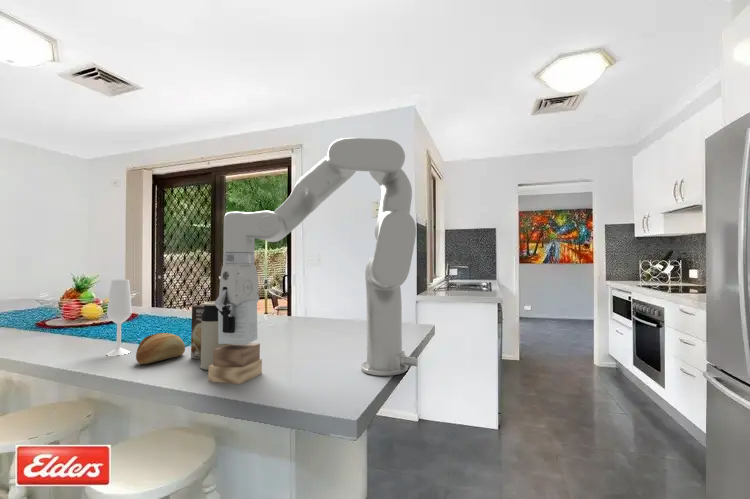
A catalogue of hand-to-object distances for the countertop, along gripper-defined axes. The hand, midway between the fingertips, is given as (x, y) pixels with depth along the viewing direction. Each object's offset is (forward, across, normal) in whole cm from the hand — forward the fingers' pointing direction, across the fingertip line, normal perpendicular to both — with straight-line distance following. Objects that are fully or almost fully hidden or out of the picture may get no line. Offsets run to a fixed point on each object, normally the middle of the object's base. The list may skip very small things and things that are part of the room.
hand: (238, 329), depth 91 cm
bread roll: (+12, +7, +34) cm, 37 cm away
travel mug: (+12, +6, +12) cm, 18 cm away
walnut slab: (+8, 0, 0) cm, 8 cm away
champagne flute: (+12, +9, +54) cm, 56 cm away
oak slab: (+12, 0, 0) cm, 12 cm away
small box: (+3, 0, 0) cm, 3 cm away
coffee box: (+12, +14, +22) cm, 29 cm away
